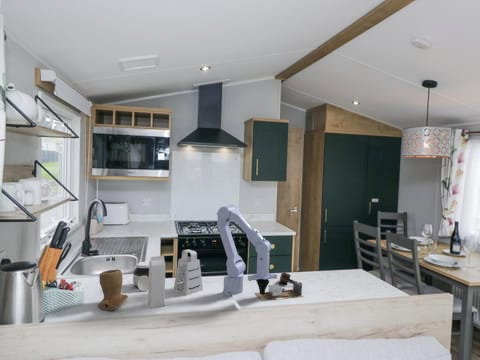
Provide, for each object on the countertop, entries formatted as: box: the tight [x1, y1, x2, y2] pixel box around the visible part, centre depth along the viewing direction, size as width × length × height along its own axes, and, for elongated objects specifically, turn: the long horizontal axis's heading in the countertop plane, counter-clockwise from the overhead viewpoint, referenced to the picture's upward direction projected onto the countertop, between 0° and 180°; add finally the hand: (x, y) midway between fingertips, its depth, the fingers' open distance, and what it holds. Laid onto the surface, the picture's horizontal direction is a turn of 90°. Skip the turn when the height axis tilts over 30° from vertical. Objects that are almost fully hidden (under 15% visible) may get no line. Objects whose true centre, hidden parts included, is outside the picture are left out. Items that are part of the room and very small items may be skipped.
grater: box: [173, 248, 204, 296], centre depth 166 cm, size 10×10×20 cm
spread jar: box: [132, 261, 150, 292], centre depth 167 cm, size 12×11×12 cm
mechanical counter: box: [278, 271, 303, 286], centre depth 177 cm, size 7×13×10 cm
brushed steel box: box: [267, 284, 286, 297], centre depth 159 cm, size 7×7×4 cm
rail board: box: [254, 280, 304, 302], centre depth 161 cm, size 22×10×6 cm, turn 109°
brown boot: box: [97, 268, 129, 312], centre depth 145 cm, size 15×12×15 cm
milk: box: [147, 255, 166, 309], centre depth 147 cm, size 6×6×22 cm
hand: (261, 294), depth 158 cm, fingers closed
